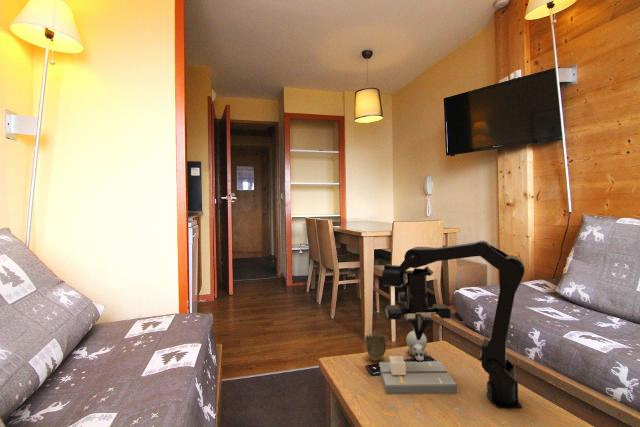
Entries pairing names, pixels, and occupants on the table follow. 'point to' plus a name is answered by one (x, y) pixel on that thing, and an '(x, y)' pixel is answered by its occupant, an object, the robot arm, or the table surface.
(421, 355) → the chubby cartoon animal
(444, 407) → the table surface
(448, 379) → the console board
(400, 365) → the fader cap
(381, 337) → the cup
